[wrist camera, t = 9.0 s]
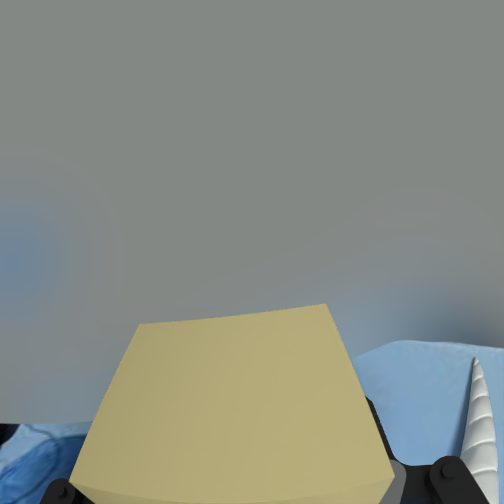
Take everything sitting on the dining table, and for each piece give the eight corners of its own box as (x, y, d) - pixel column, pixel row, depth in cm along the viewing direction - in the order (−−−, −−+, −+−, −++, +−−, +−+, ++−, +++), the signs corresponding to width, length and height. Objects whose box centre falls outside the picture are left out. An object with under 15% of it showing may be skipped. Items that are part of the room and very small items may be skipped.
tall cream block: (196, 564, 8) (68, 481, 4) (204, 466, 13) (139, 324, 10) (340, 556, 7) (395, 475, 4) (321, 455, 13) (325, 303, 10)
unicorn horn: (497, 362, 28) (509, 334, 26) (477, 530, 10) (504, 513, 8) (468, 358, 30) (478, 330, 29) (433, 527, 13) (455, 511, 11)
